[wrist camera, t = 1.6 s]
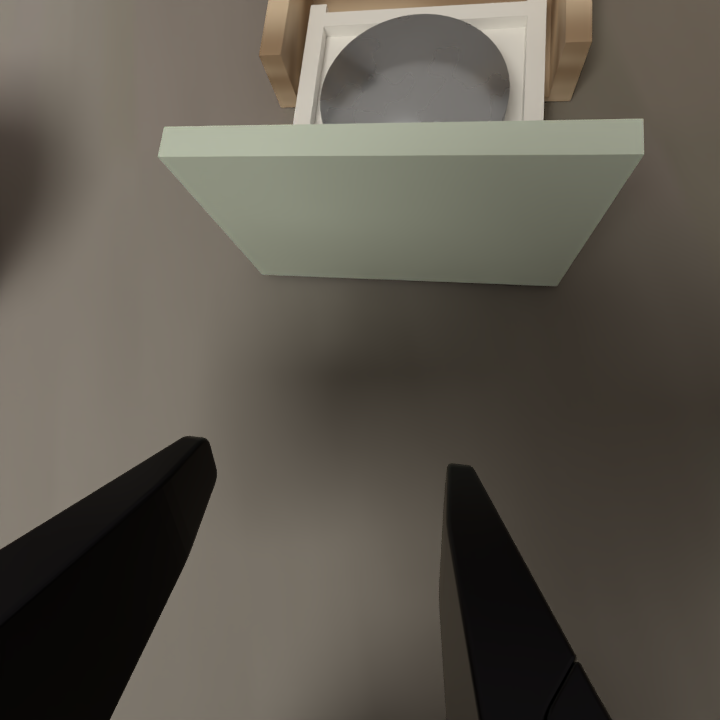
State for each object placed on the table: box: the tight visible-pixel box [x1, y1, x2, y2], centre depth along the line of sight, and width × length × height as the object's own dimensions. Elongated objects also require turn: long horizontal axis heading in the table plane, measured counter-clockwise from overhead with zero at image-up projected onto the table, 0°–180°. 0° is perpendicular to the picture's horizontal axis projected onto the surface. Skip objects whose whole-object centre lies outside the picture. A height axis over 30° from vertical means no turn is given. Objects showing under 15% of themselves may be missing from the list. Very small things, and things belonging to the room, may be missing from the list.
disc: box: [320, 14, 510, 124], centre depth 21 cm, size 8×8×2 cm
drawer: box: [158, 0, 644, 286], centre depth 18 cm, size 14×13×9 cm
